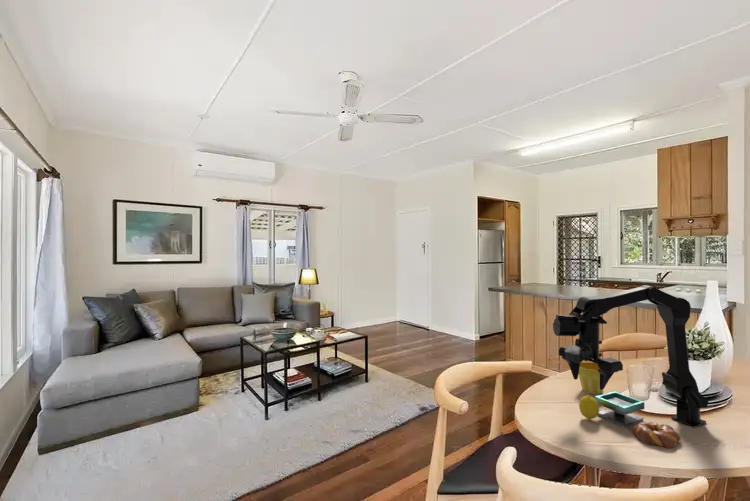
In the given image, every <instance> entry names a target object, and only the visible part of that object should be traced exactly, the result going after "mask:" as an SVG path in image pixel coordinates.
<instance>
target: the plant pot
mask: <svg viewBox="0 0 750 501" xmlns="http://www.w3.org/2000/svg"><path fill="white" fill-rule="evenodd" d="M597 369H600V368H599V367H598V364H596V363H593V362H590V361H582V362H581V363H580V367H579V374H578V378H579V381H580V385H581V389H582V391H584V392H585V393H588V394H592V395H602V394H603V392H604V389H603V390H600V373H599V372H598V370H597Z"/></svg>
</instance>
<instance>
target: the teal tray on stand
mask: <svg viewBox="0 0 750 501" xmlns="http://www.w3.org/2000/svg"><path fill="white" fill-rule="evenodd" d="M594 396H595V397H594V399H595V400H596V401H597V403H598V406H601V407H604V408H606V409H603V410H599V414H598V416H597V417H601V418H603V419H605V420H607V421H609V422H612V423H614V424H616V425H618V426H621V427H622V428H628V427H630V426H633V425H636V424H637V423H639V422H644V417H641V416H639V415H637V414H634V413H636V412H641V411H642V410H645V401H643V400H640V399H637V398H635V397H631V396H628V395H626V394H623V393H620V392H618V391H609V392H607V393H606V392H605V393H601V394H598V395H594Z"/></svg>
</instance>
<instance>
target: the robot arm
mask: <svg viewBox="0 0 750 501" xmlns="http://www.w3.org/2000/svg"><path fill="white" fill-rule="evenodd" d="M644 301H648V302H650V303H651V304H654V305H655V306H656V308H657V311H658V314H659V316H660V318H661V319H662V321H663V323H664V325H665V335H666V336H665V337H666V344H667V354H668V355H667V357H668V364H669V368H668V369H667V370H666V372H665V371H662V372H661V377H662V383H661V384H662V385H664V387H665V389H666V390H667V391H668V392H669V394H670V397H673V398H675V400H676V406H675V408H676V414H674V415H672V416H671V417H670V418H671V419H672V420H674V421H677V422H680V423H682V424H685V425H686V426H687V425H688V426H690V427H693V428H696V427H699V426H702V425H704V424H707V421H706V420H705V419H701V409H702V408H707V407H708V404H709V402H710V401H709V400H708V399H707V398H706V397H705V396H704V395H702V394H701V393H700V391H699V387H698V383H697V380H696V379H695V378H694V376H693V374H692V372H691V370H690V364H689V363H690V362H689V353H688V352H689V351H688V343H687V342H688V341H687V334H686V332H687V331H686V325H687V323H688V321H689V319H690V318H691V308H692V307H691V302H689V301H688V300H687V299H686V298H684V297H683V298H682V297H679V296H674V295H671V294H669V293H667V292H665V291H662V290H660V289H659V288H657V287H656V286H652V285H647V284H645V285H644V284H643V285H641V286H638V287H635V288H631V289H627V290H623V291H618V292H614V293H611V294H606V295H592V296H591V295H590V296H582V297H579V298H578V300H577V301H576V305H575V306H574V307H573V309H572V310H571V311H570V312H569V313H568V315H567V314H555V319H554V320H553V323H552V330H553V334H554V335H555V336H557V337H577V335H578V338H575V341H574V344H572V345H566V346H560V347H559V349H558V356H560V357H561V359H562V360H564V361H566V362H567V364H568V366H569V369H570V372H571V374H572V378H573V379H574V380H578V378H579V367H580V363H581V362H593V363H596V364H598V367H599V368H600V369H597V370H598V372H599V373H600V390H603V391H604V389H605V388H606V386H607V385H608V382H609V381H610V379H611V378H612V376H613V375H614V374H615V373H618V372H621V371H623V370H624V365H623V363H622V361H621V360H619V359H615V358H612V357H606V358H601V357H602V356H603V353H602V352H600V345H602V344H603V341H602V340H600V325H602V324H603V325H607V323H608V321H606V320H605V319H604V318H603V317H602V316H603V315H604V314H607V313H608V312H609V311H611V310H613V309H615V308H620V307H623V306H629V305H632V304H637V303H640V302H644Z"/></svg>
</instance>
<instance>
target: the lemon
mask: <svg viewBox="0 0 750 501" xmlns="http://www.w3.org/2000/svg"><path fill="white" fill-rule="evenodd" d="M578 405H579V406H578V408H579V411H580V413H581V415H582V416H583V417H584V418H586V419H587V420H589V421H591V420H593V419H596V418H597V417H599V416H598V414H599V411H600V405H599V404H598V403H597V401H596V400H595V397H593V396H591V395H589V394H588V395H584V396H582V397H581V398H580V400H579V403H578Z"/></svg>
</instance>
